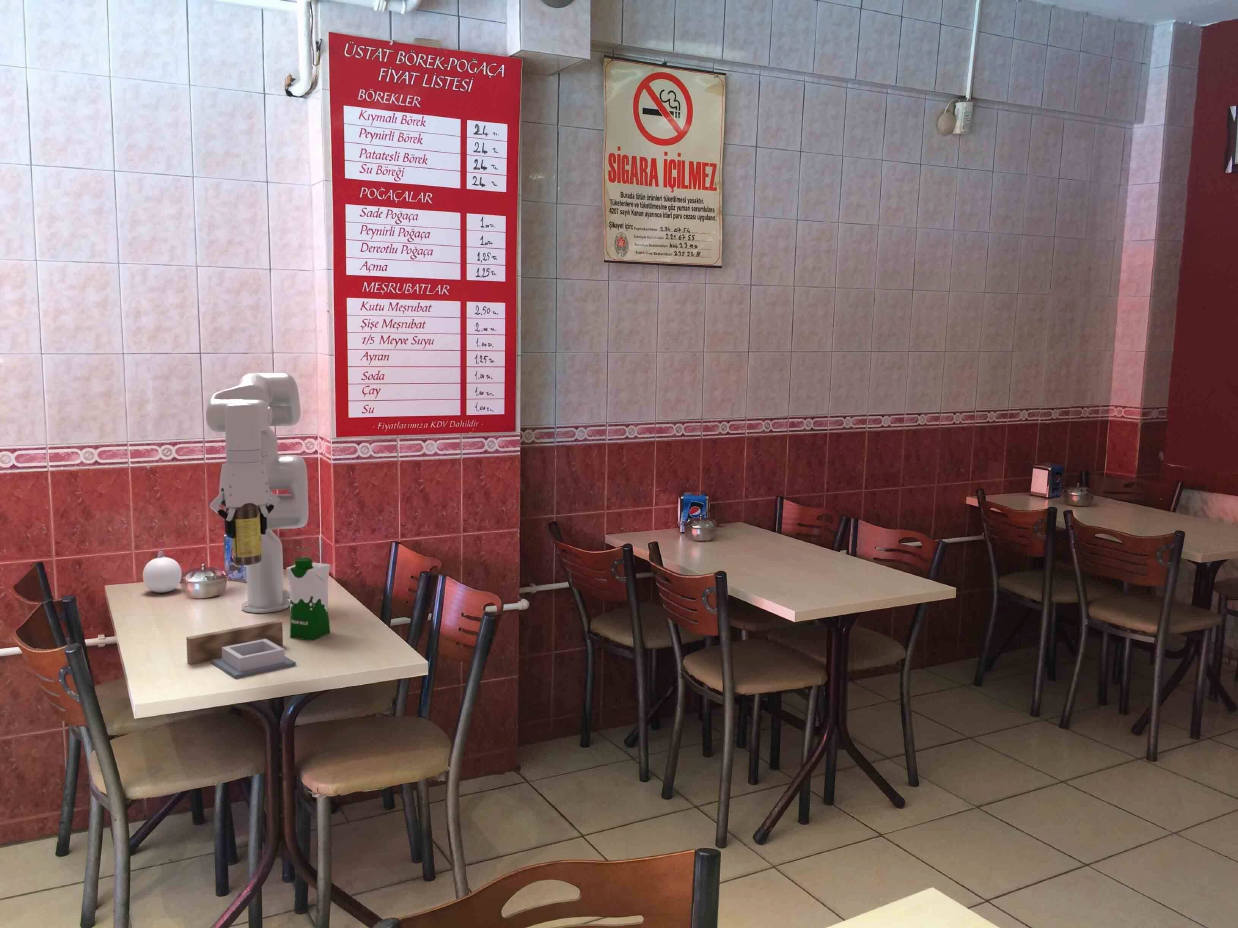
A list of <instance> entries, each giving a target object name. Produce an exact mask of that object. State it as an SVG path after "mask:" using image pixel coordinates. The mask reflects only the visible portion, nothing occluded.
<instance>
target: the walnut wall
mask: <svg viewBox="0 0 1238 928" xmlns="http://www.w3.org/2000/svg"><path fill="white" fill-rule="evenodd" d="M283 631H284V630H283V621H281V620H280V619H279V620H273V621H266V622H261V623H256V624H250V625H246V626H245V625H244V626H240V627H233V628H229V629H228V628H227V629H223V630H218V631H213V632H207V633H201V634H197V635H196V634H195V635H191V636H190V635H189V636H186V637H185V639H186V659H187V660H186V661H187V664H189V665H195V664H200V663H205V662H210V661H211V660H212V659H217V658H222V647H226V646H231V645H237V644H242V643H247V642H252V641H257V640H262V639H267V640H269V641H271V642H272V643H274V644H276V645H278V646H280V647H283V646H284V641H283V640H284V636H283Z"/></svg>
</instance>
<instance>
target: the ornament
mask: <svg viewBox="0 0 1238 928" xmlns="http://www.w3.org/2000/svg"><path fill="white" fill-rule="evenodd" d="M182 573H183V572H182V568H181V566H180V564H179V563H178V562H177V561H176V560H175V559H173V558H170V557H166V556H165V554H164V551H163V550H158V553H157V558H153V559H151V560H150V561H149V562H147V563H146V565H145V566H144V568H143V571H142V580H143V584H144V585H145V586H146V588H147V589H148V590H149V591H152V592H155V593H160V594H161V593H162V594H163V593H168V592H171V591H173V590H175V589H176V588H177V587H179V585H180V583H181V580H182Z"/></svg>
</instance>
